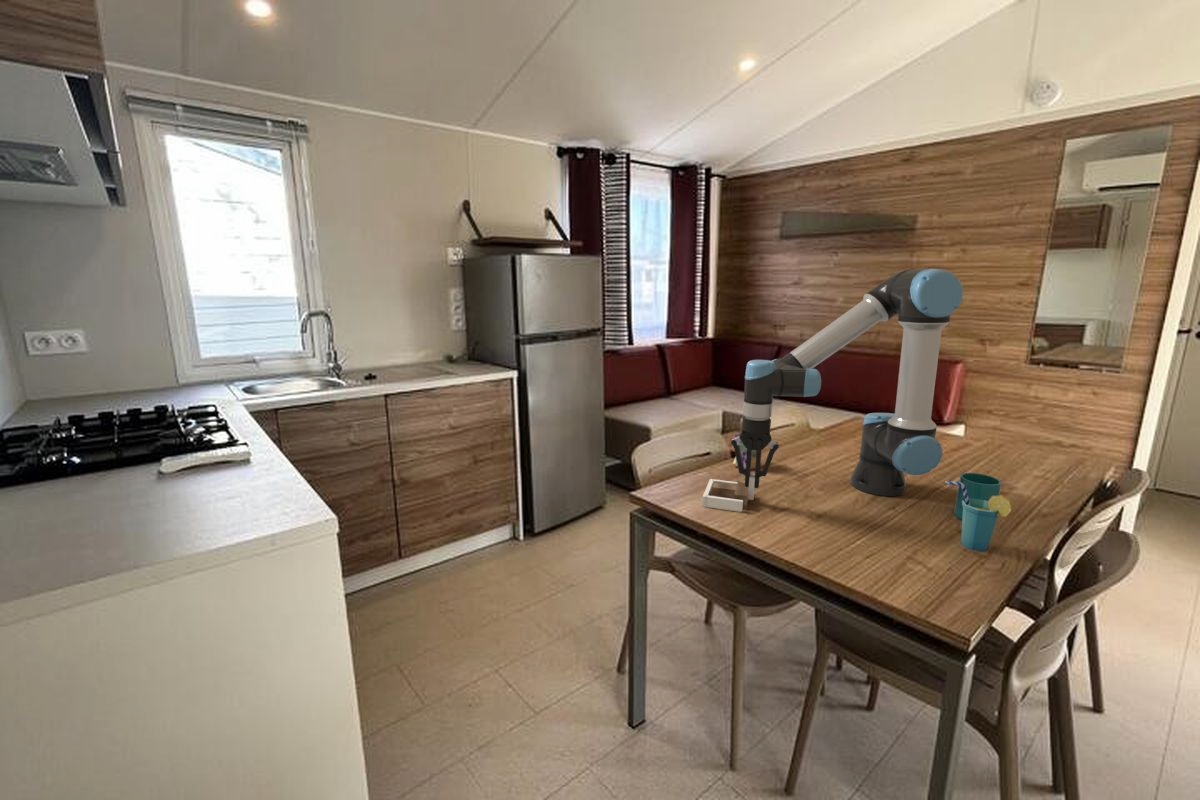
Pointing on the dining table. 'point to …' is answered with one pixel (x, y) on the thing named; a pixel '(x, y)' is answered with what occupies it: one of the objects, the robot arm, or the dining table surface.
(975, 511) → the cup
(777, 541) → the dining table surface
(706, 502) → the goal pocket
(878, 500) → the dining table surface
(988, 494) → the cup
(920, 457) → the robot arm
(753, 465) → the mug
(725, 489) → the t block
